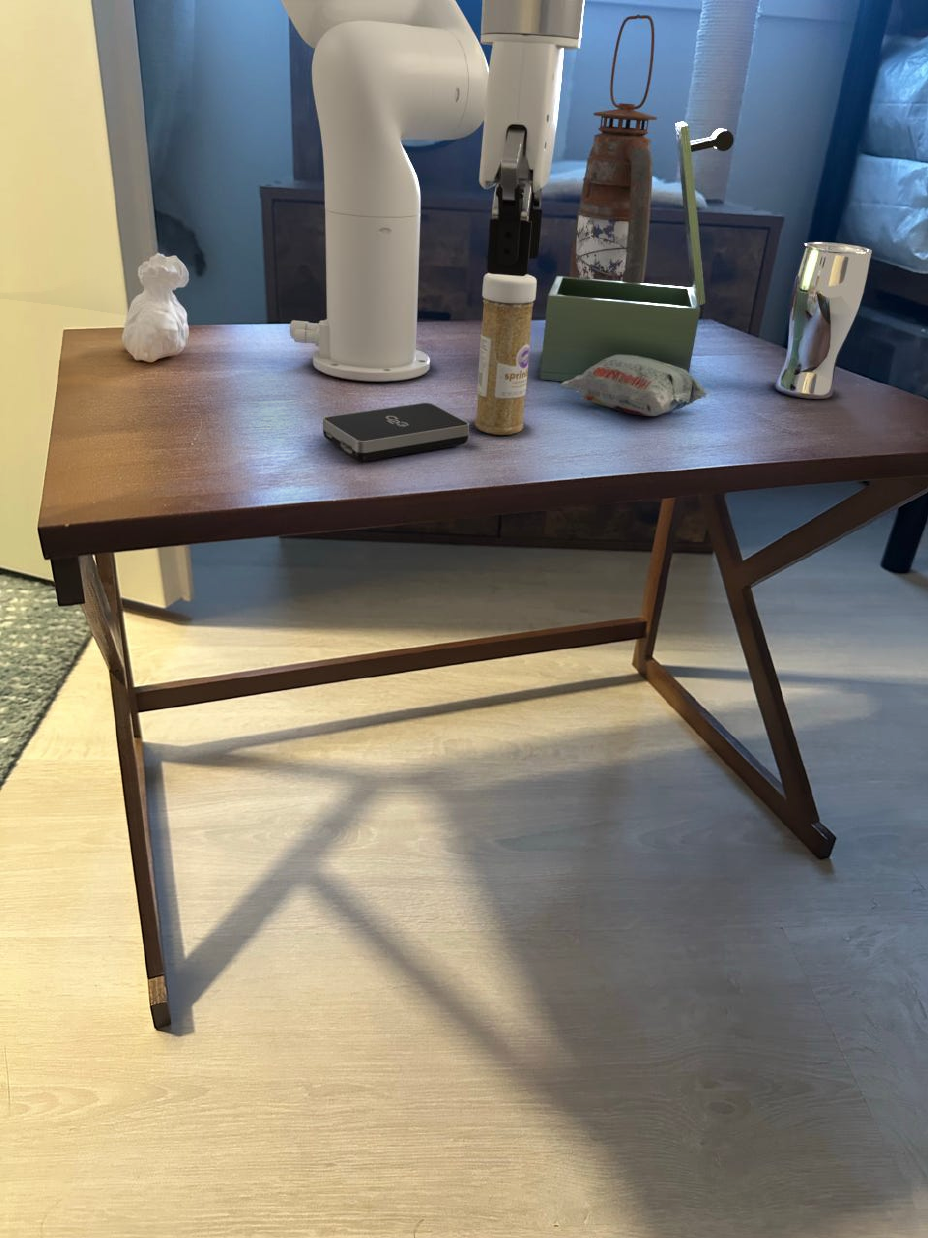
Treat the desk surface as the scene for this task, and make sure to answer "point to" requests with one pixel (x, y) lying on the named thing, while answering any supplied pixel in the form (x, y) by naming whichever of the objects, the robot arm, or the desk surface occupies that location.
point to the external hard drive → (395, 431)
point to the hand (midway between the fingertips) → (514, 265)
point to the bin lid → (721, 142)
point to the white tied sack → (157, 311)
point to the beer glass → (822, 316)
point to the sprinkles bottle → (504, 352)
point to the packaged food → (637, 385)
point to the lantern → (616, 192)
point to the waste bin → (615, 324)
